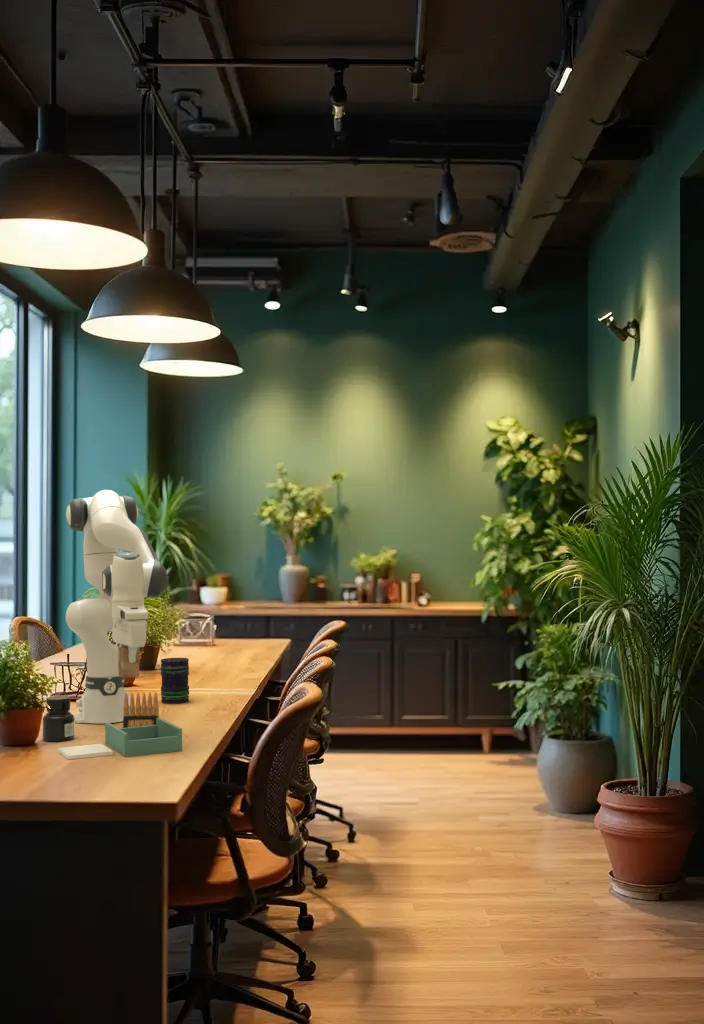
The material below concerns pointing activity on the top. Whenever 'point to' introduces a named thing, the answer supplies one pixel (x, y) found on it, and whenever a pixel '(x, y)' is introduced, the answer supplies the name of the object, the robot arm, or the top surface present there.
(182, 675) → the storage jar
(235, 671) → the top surface
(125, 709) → the ammunition clip
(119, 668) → the walnut block
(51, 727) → the ink bottle
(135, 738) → the box
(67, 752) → the board
